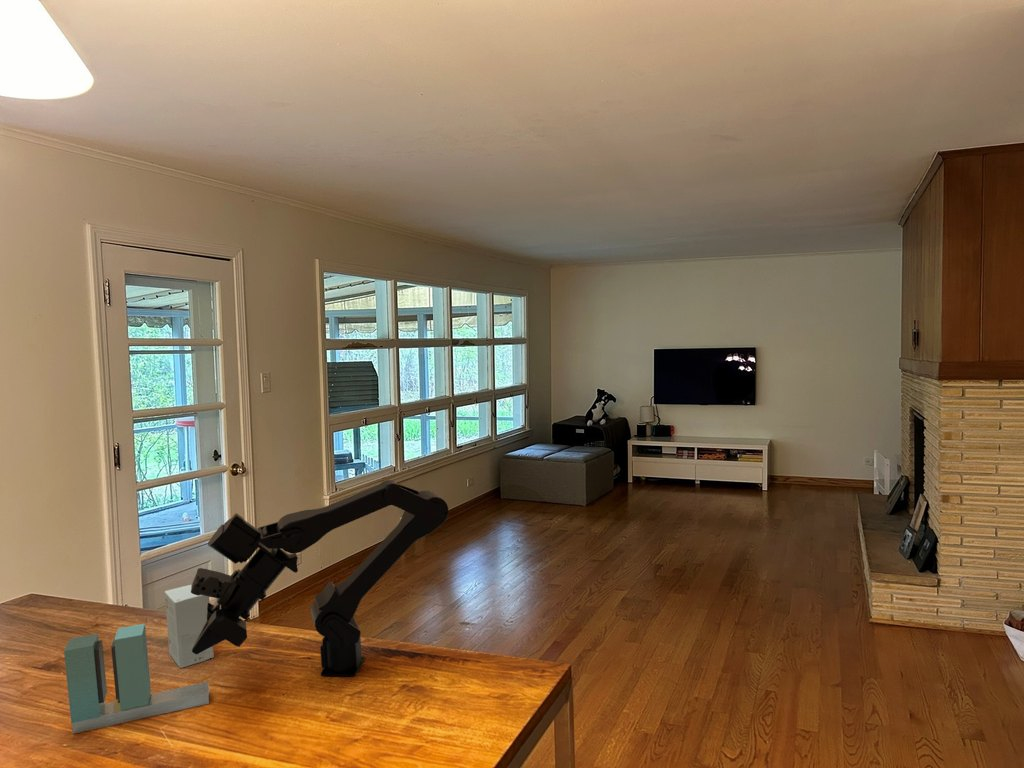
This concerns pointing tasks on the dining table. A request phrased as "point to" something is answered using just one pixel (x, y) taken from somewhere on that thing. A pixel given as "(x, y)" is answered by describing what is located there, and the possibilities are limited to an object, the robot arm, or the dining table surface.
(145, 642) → the tall teal pillar
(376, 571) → the robot arm
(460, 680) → the dining table surface
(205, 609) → the small box
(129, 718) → the rail
